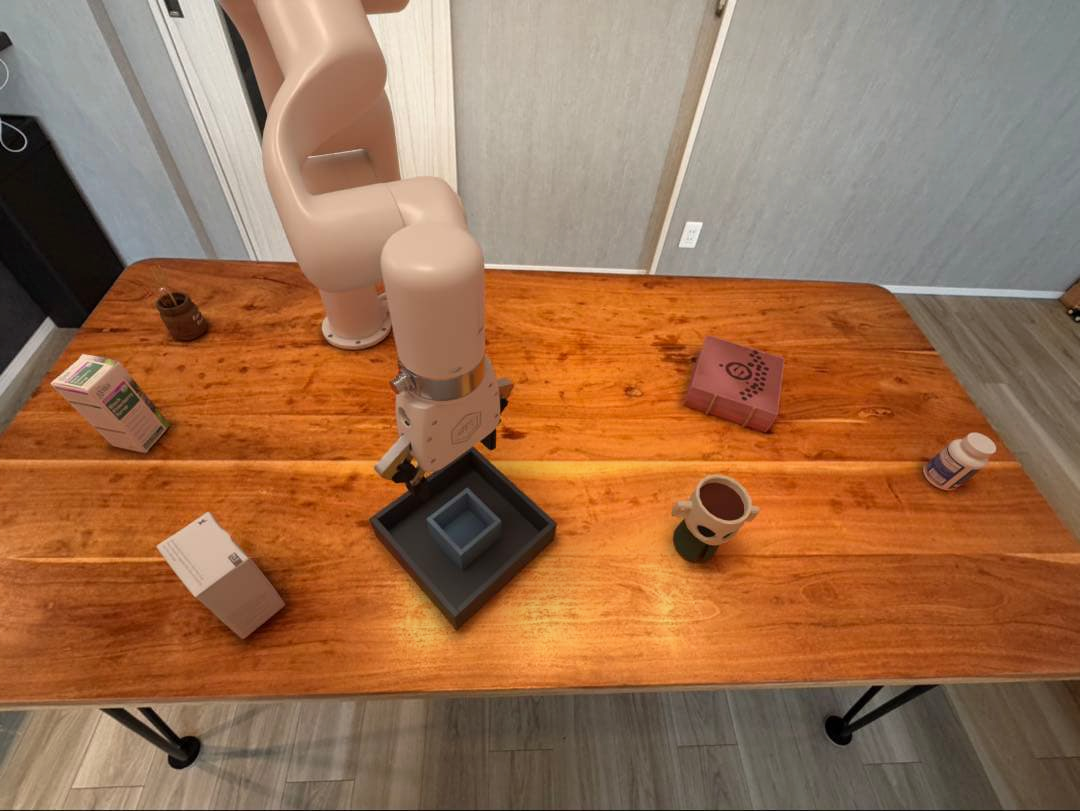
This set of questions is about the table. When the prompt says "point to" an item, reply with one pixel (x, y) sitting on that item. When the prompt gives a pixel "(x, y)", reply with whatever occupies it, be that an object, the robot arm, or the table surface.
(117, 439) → the syrup box
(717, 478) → the character mug
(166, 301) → the utensil holder
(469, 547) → the small bin
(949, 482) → the pill bottle
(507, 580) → the large bin
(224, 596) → the cosmetic box
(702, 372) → the book
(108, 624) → the table surface
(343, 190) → the robot arm
